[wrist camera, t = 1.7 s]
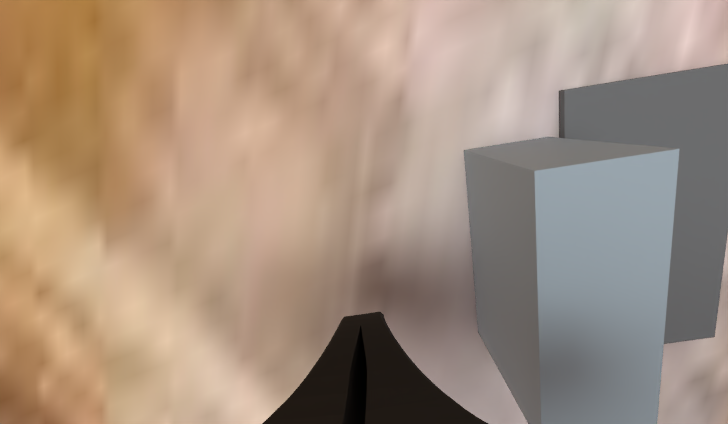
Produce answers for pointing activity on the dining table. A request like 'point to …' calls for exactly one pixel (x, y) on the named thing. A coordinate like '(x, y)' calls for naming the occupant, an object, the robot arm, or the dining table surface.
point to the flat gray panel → (694, 179)
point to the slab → (574, 273)
